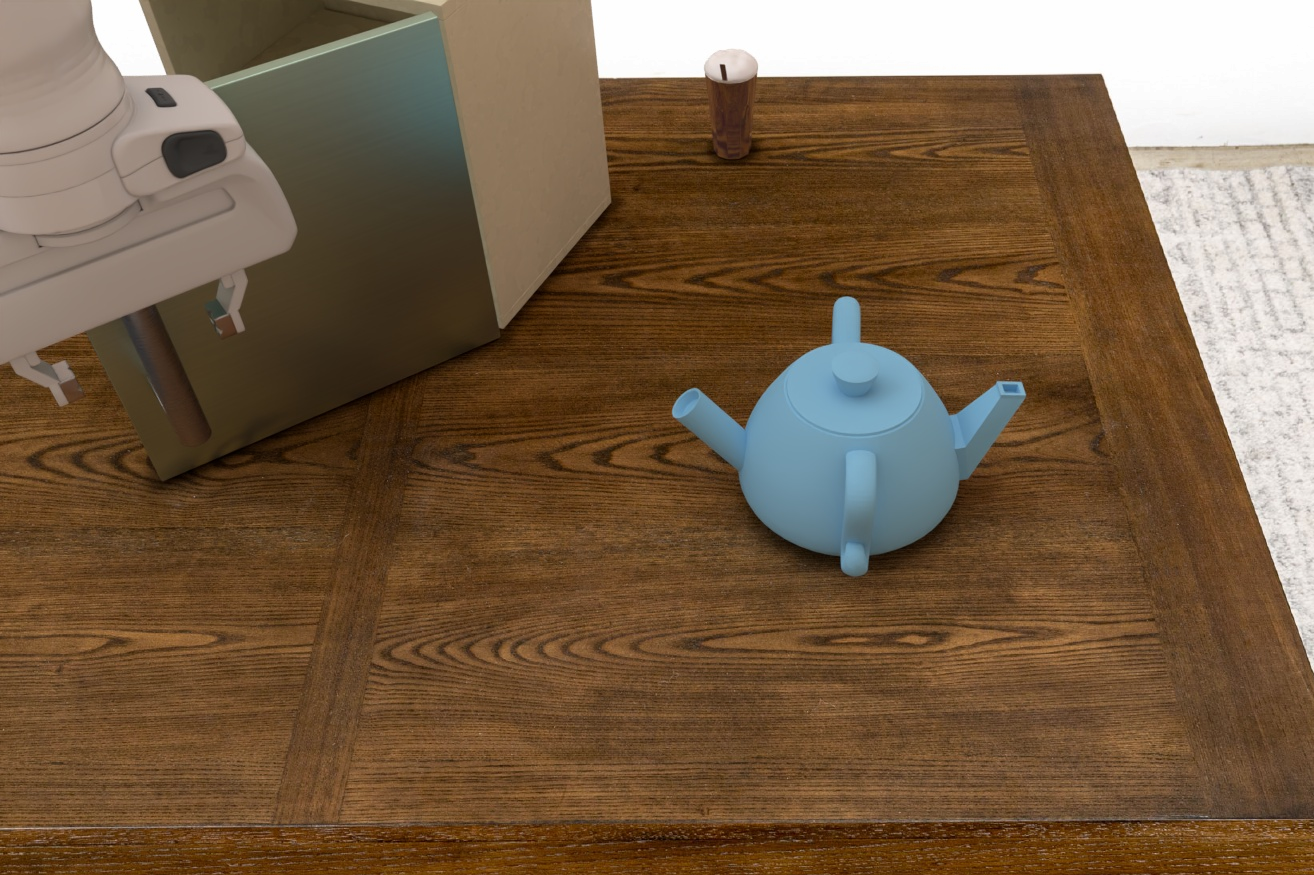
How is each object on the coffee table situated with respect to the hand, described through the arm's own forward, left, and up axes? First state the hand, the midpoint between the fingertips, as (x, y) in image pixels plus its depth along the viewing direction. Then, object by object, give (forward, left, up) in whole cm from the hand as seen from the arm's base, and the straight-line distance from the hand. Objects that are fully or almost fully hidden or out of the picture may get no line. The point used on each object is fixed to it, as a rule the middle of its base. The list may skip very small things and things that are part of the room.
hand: (152, 362), depth 74 cm
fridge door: (+6, +9, -14) cm, 18 cm away
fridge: (+6, +33, -14) cm, 37 cm away
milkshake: (+31, +45, -14) cm, 57 cm away
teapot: (+41, +5, -14) cm, 43 cm away
